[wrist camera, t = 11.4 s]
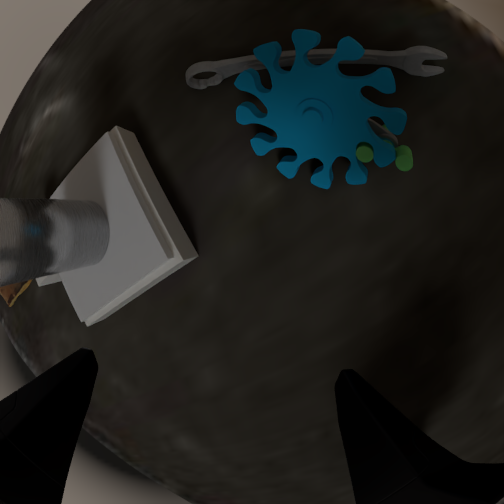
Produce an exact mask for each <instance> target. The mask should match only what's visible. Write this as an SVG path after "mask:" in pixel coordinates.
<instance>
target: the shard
mask: <svg viewBox="0 0 504 504" xmlns="http://www.w3.org/2000/svg"><path fill="white" fill-rule="evenodd" d="M31 281H32V279H31V280H27V281H23V282H19V283H15V284H11V285H7V286H2V287H0V294H1V295H2V296H3V298H4V299H5V301H6V302H7V304H8V306H9V307H11V306H12V305H13V304H14V301H15V300H16V298H17V297H18V296H19V295H20V294H21V293H22V292H23V291H24V290H25V289H26V288H27V287H28V286H29V284H30V282H31Z"/></svg>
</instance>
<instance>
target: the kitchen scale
mask: <svg viewBox="0 0 504 504" xmlns="http://www.w3.org/2000/svg"><path fill="white" fill-rule="evenodd" d="M50 199H70V200H91V201H94V202H96V203H98V204H99V205H100V206H101V207H102V209H103V210H104V212H105V214H106V217H107V220H108V224H109V244H108V248H107V251H106V254H105V256H104V257H103V259H102V260H101V261H100V262H99V263H97V264H96V265H93V266H88V267H84V268H79V269H75V270H70V271H66V272H62V273H57V274H53V275H48V276H44V277H40V278H36V281H37V283H38V286H43V285H47V284H51V283H55V282H59V281H62V282H63V285H64V287H65V289H66V291H67V294H68V296H69V298H70V300H71V302H72V304H73V307H74V309H75V311H76V313H77V315H78V317H79V319H80V321H81V322H83V321H85V323H86V325H87V327H88V326H90V325H92V324H94V323H97V322H99V321H101V320H103V319H105V318H107V317H108V316H110V315H111V314H112V313H114V312H115V311H117V310H118V309H120V308H121V307H123V306H124V305H126V304H127V303H129V302H130V301H131V300H133V299H134V298H136V297H137V296H139V295H140V294H142V293H143V292H145V291H146V290H148V289H149V288H151V287H152V286H154V285H155V284H157V283H158V282H160V281H161V280H163V279H164V278H166V277H167V276H169V275H170V274H172V273H173V272H175V271H176V270H178V269H179V268H181V267H183V266H184V265H186V264H187V263H189V262H190V261H192V260H193V259H195V258H196V257H198V256H199V255H198V254H197V252H196V250H195V248H194V247H193V245H192V243H191V241H190V239H189V238H188V236H187V234H186V232H185V230H184V229H183V227H182V225H181V223H180V221H179V220H178V218H177V216H176V214H175V212H174V210H173V208H172V207H171V205H170V203H169V201H168V199H167V197H166V195H165V193H164V192H163V190H162V188H161V186H160V184H159V182H158V180H157V178H156V176H155V174H154V172H153V170H152V168H151V166H150V164H149V162H148V160H147V158H146V156H145V154H144V152H143V150H142V148H141V146H140V144H139V142H138V140H137V138H136V136H135V134H134V133H133V132H130V131H128V130H126V129H123V128H121V127H119V126H115V127H114V128H113V129H112V130H111V131H110V132H106V133H105V134H104V135H103V136H102V137H101V138H100V139H99V140H98V141H97V142H96V144H95V145H94V146H93V147H92V148H91V149H90V150H89V151H88V152H87V153H86V154H85V155H84V157H83V158H82V159H81V160H80V161H79V162H78V163H77V165H76V166H75V167H74V168H73V169H72V170H71V172H70V173H69V174H68V175H67V177H66V178H65V179H64V180H63V182H62V183H61V184H60V185H59V187H58V188H57V189H56V191H55V192H54V193H53V194H52V196H51V197H50Z"/></svg>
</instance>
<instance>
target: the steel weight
mask: <svg viewBox="0 0 504 504" xmlns="http://www.w3.org/2000/svg"><path fill="white" fill-rule="evenodd" d="M108 244H109V224H108V220H107V217H106V214H105V212H104V210H103V209H102V207H101V206H100V205H99V204H98V203H96V202H94V201H91V200H70V199H36V198H0V287H2V286H7V285H11V284H15V283H19V282H23V281H27V280H31V279H36V278H40V277H44V276H48V275H53V274H57V273H62V272H66V271H70V270H75V269H79V268H84V267H88V266H93V265H96V264H97V263H99V262H100V261H101V260H102V259H103V257H104V256H105V254H106V251H107V248H108Z"/></svg>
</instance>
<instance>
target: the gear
mask: <svg viewBox="0 0 504 504" xmlns="http://www.w3.org/2000/svg"><path fill="white" fill-rule="evenodd" d="M320 40H321V36H320V34H319V33H317V32H315V31H312V30H306V29H296V30H294V31H293V33H292V41H293V43H294V46H295V50H296V56H295V61H294V64H293V66H292V69H291V71H285V70H283V69H281V67H280V66H279V58H280V56H281V53H282V48H281V46H280V44H279V43H278V42H270V43H266V44H263V45H260V46H258V47H256V48H255V49H254V50H253V52H254V55H255V57H256V58H257V59H258V60H259V61H260V62H262V63H263V64H264V65H265V67H266V68H267V70H268V72H269V74H270V77H271V81H272V89H266V88H264V87H263V86H262V84H261V80H260V76H259V74H258V72H257V71H256V70H254V69H252V68H249V69H247V70H244V71H243V72H241V73H240V74H239V76H238V77H237V79H236V81H235V83H234V84H235V86H236V87H237V88H238V89H239V90H242V91H247V92H249V93H252V94H253V95H255V96H256V97H258V98H259V99H260V100H261V101H262V103H263V104H264V105H265V106H266V108H267V110H268V114H265V113H262V112H260V111H259V110H258V108H257V107H256V106H255V105H254V104H253V103H251V102H243V103H242V104H240V105H239V106H238V107H237V110H236V120H237V122H238V123H240V124H243V125H246V124H250V123H258V124H262V125H264V126H267V127H269V128H271V129H273V130H274V131H275V132H276V134H277V137H272V136H270V135H268V134H266V133H258V134H256V135H255V136H254V137H253V138H252V139H251V140H250V142H251V145H252V148H253V150H254V151H255V153H256V154H257V155H260V156H262V155H265V154H266V153H267V152H268V151H270V150H271V149H274V148H278V147H286V148H292V149H293V150H295V151H296V153H297V156H284V157H283V158H282V159H281V161H280V162H279V163H278V165H277V169H278V170H279V171H280V172H281V173H282V174H283V175H284V176H286V177H287V178H289V179H290V178H293V177H294V176H295V175H296V173H297V171H298V169H299V167H300V164H302V163H303V162H304V161H306V160H308V159H311V158H318V159H319V160H321V161H322V163H323V165H322V166H320V167H318V168H316V169H315V171H314V173H313V175H312V177H311V183H312V184H314V185H316V186H318V187H321V188H324V189H328V188H329V187H330V185H331V183H332V180H333V172H332V163H333V162H334V160H335V159H336V158H337V157H339V156H344V157H346V158H348V159H349V160H350V162H351V164H350V165H349V167H348V169H347V173H346V181H347V182H348V184H352V185H357V184H364V183H366V181H367V176H368V170H367V168H366V167H365V166H364V165H363V163H362V162H370V161H371V160H372V159H373V158H374V162H375V163H376V164H377V165H378V166H379V167H381V168H382V167H385V166H387V165H389V164H390V163H392V162H393V161H394V160H395V163H396V166H397V168H398V169H400V170H401V171H409V170H410V169H411V168H412V166H413V159H412V151H411V149H410V148H409V147H408V146H405V145H401V146H398V140H397V138H396V136H395V135H394V134H396V135H400V134H401V133H402V132H403V130H404V128H405V125H406V121H407V115H406V112H405V111H404V110H402V109H400V108H387V107H382V106H379V105H376V104H374V103H373V102H371V101H369V100H368V99H366V98H365V97H363V95H362V94H361V88H362V87H364V86H372V87H374V88H376V89H377V90H379V91H380V92H382V93H385V94H391V93H394V92H395V91H396V86H395V80H394V77H393V74H392V72H391V69H390V68H386V67H382V68H379V69H377V70H376V71H375V72H373V73H371V74H369V75H366V76H346V75H344V74H342V73H341V72H340V71H339V68H338V64H339V62H340V61H342V60H349V61H355V60H358V59H360V58H361V57H362V56H363V55H364V53H365V50H364V48H363V47H362V46H361V45H360V44H359V43H358V42H357V41H356V40H354V39H353V38H351V37H350V36H347V37H344V38H342V39H341V40H340V41H339V43H338V46H337V50H336V52H335V54H334V55H333V57H332V58H331V59H330V60H329V61H327V62H325V63H324V64H322V65H313V64H312V63H310V62H309V60H308V58H307V53H308V52H309V50H311V49H312V48H314V47H316V46H317V45H318V44H319V43H320ZM371 116H377V117H379V118H381V119H382V120H383V122H384V123H385V124H384V125H383V126H381V125H379V124H378V123H377V122H375V121H374V120H372V119H370V118H369V117H371ZM392 133H393V134H392ZM357 144H358V146H357ZM361 161H362V162H361Z"/></svg>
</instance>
